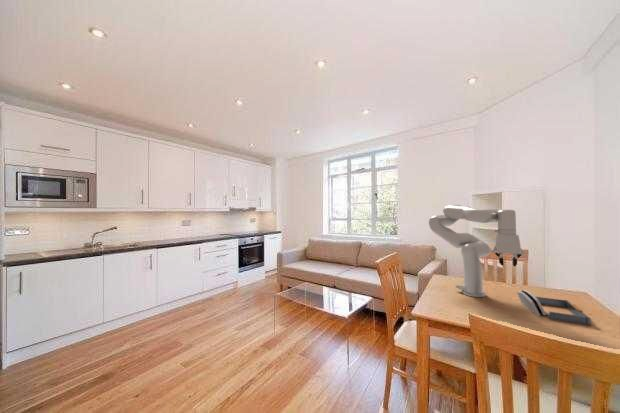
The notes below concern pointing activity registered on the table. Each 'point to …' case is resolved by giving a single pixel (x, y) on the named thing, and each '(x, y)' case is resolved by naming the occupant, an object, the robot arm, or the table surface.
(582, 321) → the bay
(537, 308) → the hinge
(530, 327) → the table surface
